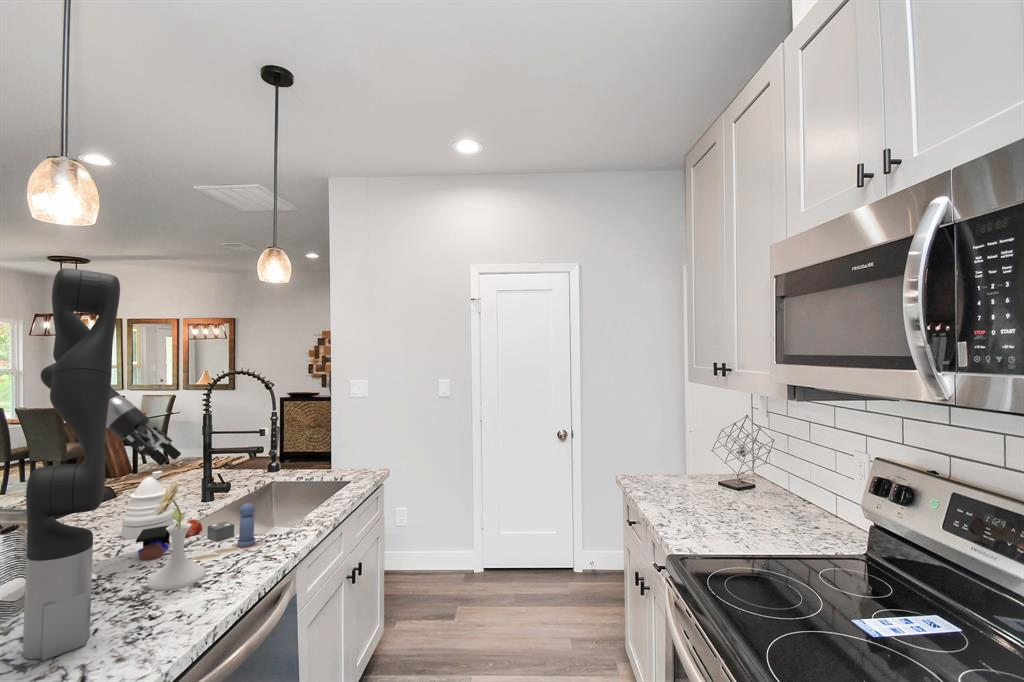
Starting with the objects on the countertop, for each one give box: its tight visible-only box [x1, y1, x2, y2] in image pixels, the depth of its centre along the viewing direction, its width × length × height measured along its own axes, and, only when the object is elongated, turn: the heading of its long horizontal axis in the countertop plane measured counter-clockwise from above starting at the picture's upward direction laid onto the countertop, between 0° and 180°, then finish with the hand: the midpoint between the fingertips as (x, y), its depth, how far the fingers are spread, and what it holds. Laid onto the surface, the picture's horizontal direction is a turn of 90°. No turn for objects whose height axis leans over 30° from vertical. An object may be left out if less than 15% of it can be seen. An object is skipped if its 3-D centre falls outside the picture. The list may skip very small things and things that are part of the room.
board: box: [191, 541, 261, 564], centre depth 134 cm, size 8×16×2 cm, turn 146°
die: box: [206, 520, 235, 543], centre depth 144 cm, size 5×5×5 cm
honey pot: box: [121, 470, 174, 540], centre depth 154 cm, size 13×13×18 cm
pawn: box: [236, 502, 256, 549], centre depth 138 cm, size 4×4×12 cm
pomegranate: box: [185, 519, 203, 539], centre depth 148 cm, size 6×6×8 cm
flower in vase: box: [147, 481, 207, 592], centre depth 116 cm, size 13×11×25 cm
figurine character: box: [135, 525, 171, 562], centre depth 134 cm, size 7×8×15 cm
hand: (171, 459), depth 129 cm, fingers open, 8 cm apart
